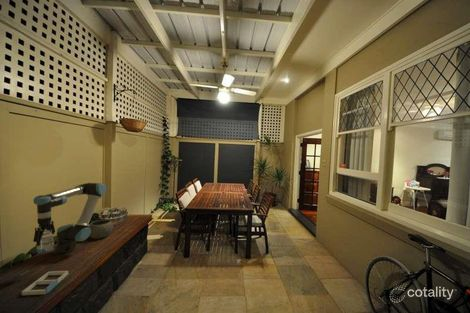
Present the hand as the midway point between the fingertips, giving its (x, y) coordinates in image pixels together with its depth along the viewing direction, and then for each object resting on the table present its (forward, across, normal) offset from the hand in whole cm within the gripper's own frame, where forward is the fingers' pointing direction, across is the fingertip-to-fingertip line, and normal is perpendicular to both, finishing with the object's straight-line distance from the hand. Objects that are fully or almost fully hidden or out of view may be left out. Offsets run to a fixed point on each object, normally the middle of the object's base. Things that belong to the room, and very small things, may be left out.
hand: (45, 246), depth 148 cm
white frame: (+19, +16, +13) cm, 28 cm away
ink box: (+4, 0, 0) cm, 4 cm away
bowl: (+21, -60, +7) cm, 64 cm away
